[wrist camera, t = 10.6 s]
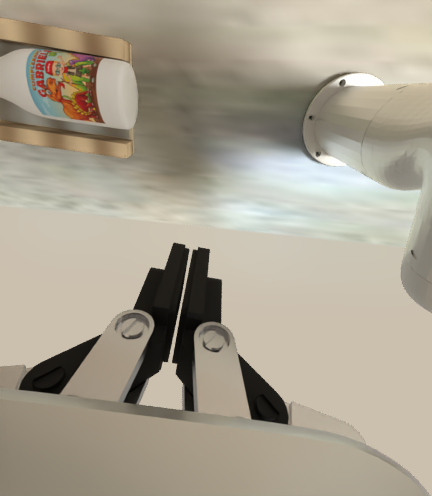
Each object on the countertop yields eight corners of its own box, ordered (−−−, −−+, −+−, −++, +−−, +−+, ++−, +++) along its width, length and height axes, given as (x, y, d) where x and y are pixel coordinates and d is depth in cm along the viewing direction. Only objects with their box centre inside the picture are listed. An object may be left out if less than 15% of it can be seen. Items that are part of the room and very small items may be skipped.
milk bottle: (133, 142, 36) (-14, 122, 35) (142, 99, 38) (4, 79, 37) (116, 96, 28) (-71, 69, 27) (130, 45, 30) (-44, 19, 29)
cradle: (131, 44, 34) (121, 39, 30) (134, 152, 41) (126, 158, 38) (-27, 16, 33) (-56, 7, 29) (5, 133, 40) (-15, 137, 36)
